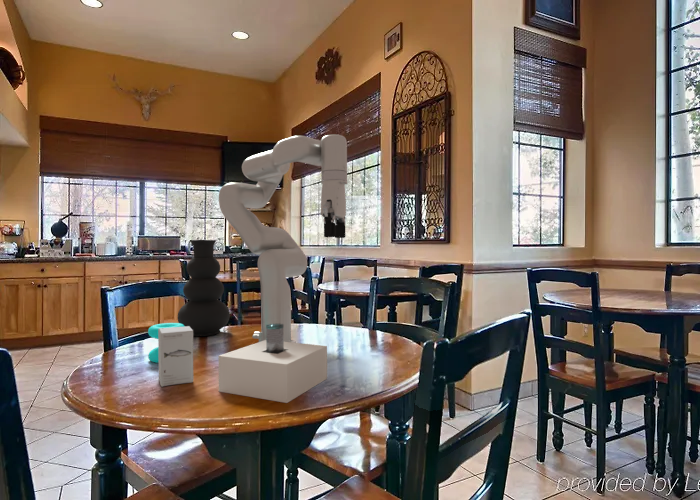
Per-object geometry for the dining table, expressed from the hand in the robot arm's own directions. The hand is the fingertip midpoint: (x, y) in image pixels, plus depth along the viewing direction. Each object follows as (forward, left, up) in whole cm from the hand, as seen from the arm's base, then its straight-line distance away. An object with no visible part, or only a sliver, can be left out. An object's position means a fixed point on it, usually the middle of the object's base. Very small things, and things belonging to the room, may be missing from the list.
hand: (335, 237), depth 126 cm
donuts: (-44, -21, -35) cm, 60 cm away
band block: (-2, -28, -35) cm, 45 cm away
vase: (-60, +11, -35) cm, 70 cm away
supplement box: (-26, -35, -35) cm, 56 cm away
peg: (-2, -28, -29) cm, 40 cm away
